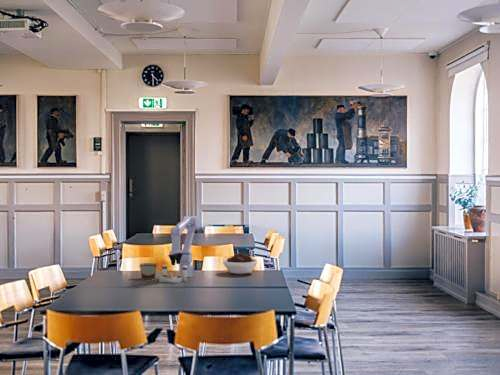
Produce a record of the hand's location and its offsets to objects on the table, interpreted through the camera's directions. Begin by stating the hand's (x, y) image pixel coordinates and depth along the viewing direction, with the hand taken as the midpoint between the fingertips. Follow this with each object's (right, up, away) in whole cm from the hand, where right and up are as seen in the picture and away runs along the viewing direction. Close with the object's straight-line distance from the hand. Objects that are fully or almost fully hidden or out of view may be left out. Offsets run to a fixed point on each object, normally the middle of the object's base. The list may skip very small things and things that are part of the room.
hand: (175, 264), depth 402 cm
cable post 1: (-8, -10, +1) cm, 13 cm away
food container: (-19, -11, +7) cm, 23 cm away
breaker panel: (-2, -11, -7) cm, 13 cm away
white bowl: (+43, -11, +29) cm, 53 cm away
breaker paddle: (-3, -7, -8) cm, 11 cm away
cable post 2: (+7, -11, -4) cm, 13 cm away
